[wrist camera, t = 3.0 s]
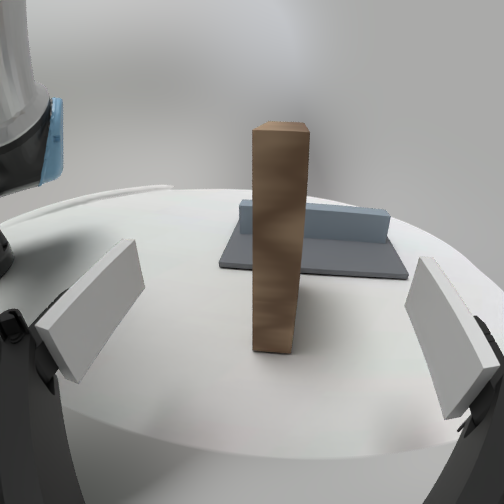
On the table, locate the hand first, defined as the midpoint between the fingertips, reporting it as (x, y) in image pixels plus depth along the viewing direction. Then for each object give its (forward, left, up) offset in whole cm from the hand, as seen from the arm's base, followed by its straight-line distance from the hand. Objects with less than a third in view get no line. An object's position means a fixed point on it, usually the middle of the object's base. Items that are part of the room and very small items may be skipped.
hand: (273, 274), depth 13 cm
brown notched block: (0, +10, -10) cm, 14 cm away
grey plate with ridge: (+4, +26, -10) cm, 28 cm away
